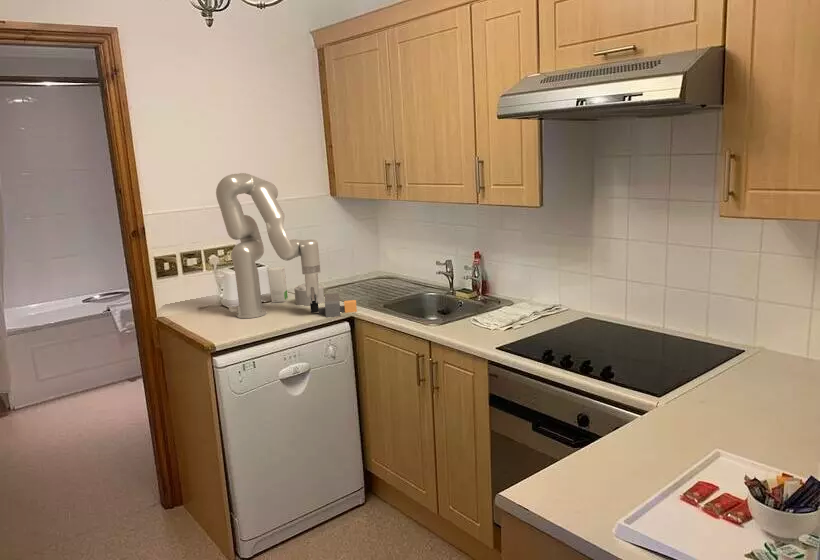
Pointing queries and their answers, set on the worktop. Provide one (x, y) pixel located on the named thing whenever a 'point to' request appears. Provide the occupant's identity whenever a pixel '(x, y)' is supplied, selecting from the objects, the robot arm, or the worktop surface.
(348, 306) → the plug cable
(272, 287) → the skincare box
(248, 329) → the worktop surface
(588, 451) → the worktop surface
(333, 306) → the block
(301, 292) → the lumpy-topped squat cylinder
